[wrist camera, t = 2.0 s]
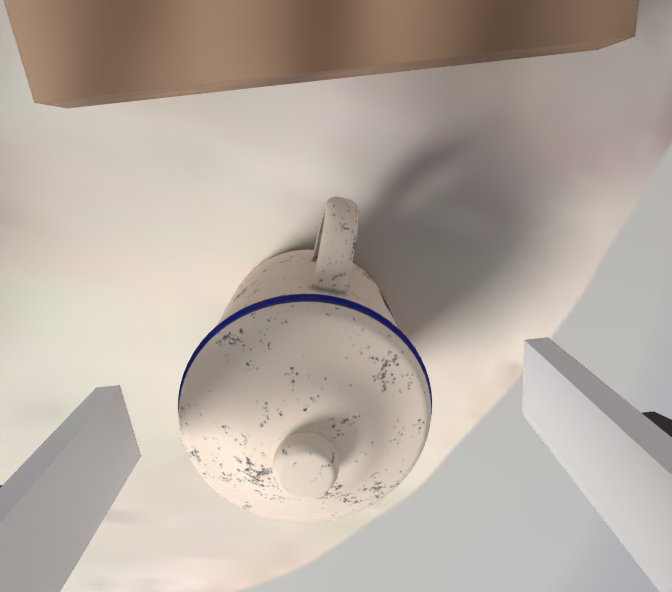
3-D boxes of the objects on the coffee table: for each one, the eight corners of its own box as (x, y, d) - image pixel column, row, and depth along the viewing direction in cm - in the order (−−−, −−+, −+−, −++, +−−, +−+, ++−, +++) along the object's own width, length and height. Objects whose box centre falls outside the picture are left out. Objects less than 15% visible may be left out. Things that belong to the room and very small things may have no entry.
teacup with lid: (371, 409, 26) (415, 605, 15) (215, 385, 25) (134, 576, 14) (424, 205, 22) (537, 260, 11) (244, 168, 21) (167, 187, 10)
